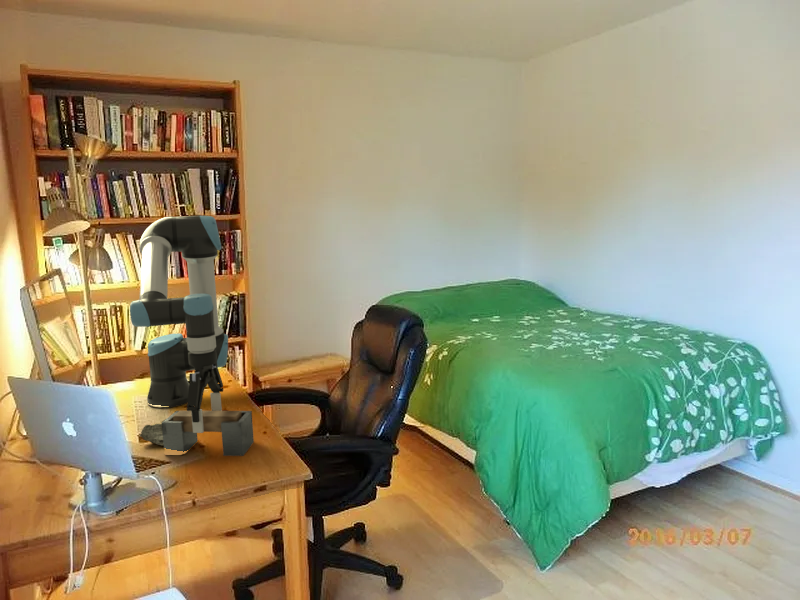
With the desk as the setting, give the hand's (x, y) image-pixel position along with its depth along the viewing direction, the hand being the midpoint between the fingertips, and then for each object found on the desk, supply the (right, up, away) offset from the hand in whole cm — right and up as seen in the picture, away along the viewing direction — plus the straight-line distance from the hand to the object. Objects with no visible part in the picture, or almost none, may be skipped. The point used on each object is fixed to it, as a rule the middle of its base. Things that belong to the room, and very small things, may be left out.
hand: (208, 423), depth 172 cm
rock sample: (-15, -7, +7) cm, 18 cm away
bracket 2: (+9, -7, +1) cm, 11 cm away
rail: (0, -2, 0) cm, 2 cm away
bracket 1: (-8, -8, +2) cm, 11 cm away
